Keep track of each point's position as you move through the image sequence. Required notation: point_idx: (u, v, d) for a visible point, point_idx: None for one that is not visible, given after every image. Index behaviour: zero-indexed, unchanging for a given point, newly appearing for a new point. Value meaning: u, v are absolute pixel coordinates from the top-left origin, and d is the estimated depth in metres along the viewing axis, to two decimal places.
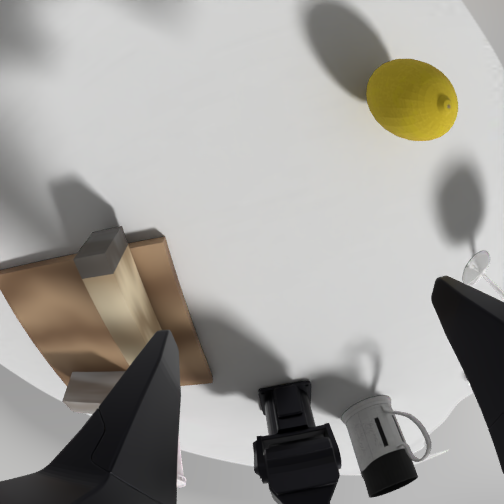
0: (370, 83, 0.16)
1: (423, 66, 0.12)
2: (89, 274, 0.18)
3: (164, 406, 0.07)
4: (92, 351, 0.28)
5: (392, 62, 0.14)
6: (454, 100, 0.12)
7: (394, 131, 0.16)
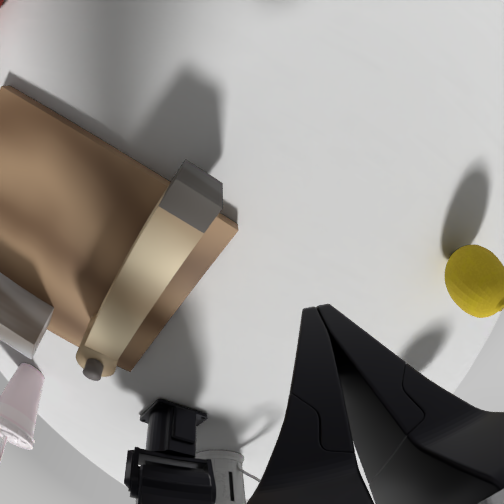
0: (468, 253, 0.20)
1: None
2: (174, 209, 0.14)
3: None
4: (34, 262, 0.19)
5: (490, 253, 0.19)
6: None
7: (457, 293, 0.20)
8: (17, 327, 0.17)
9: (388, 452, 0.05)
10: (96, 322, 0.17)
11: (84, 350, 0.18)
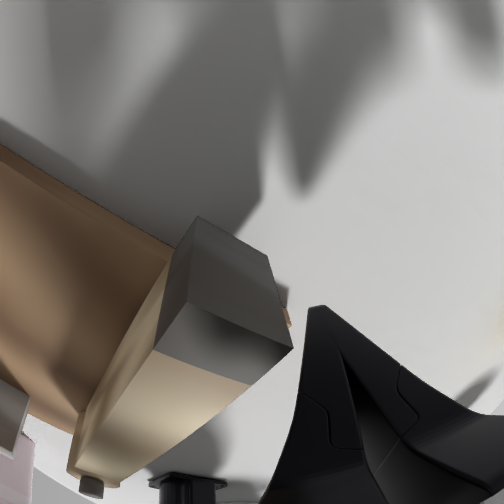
0: None
1: None
2: (189, 355, 0.06)
3: None
4: None
5: None
6: None
7: None
8: None
9: (382, 454, 0.05)
10: (84, 455, 0.09)
11: (75, 469, 0.11)
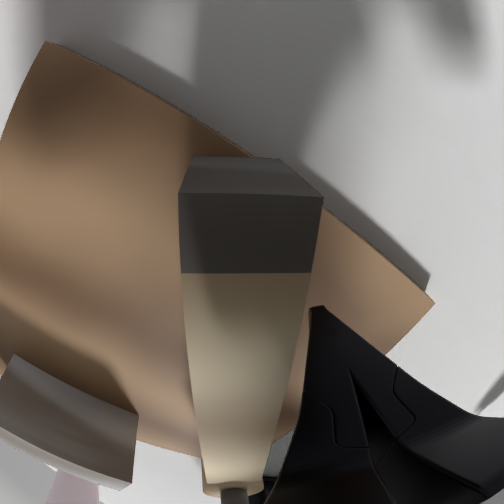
0: None
1: None
2: (219, 260, 0.06)
3: None
4: (109, 364, 0.12)
5: None
6: None
7: None
8: (97, 462, 0.10)
9: (378, 455, 0.05)
10: (205, 463, 0.10)
11: (210, 486, 0.12)
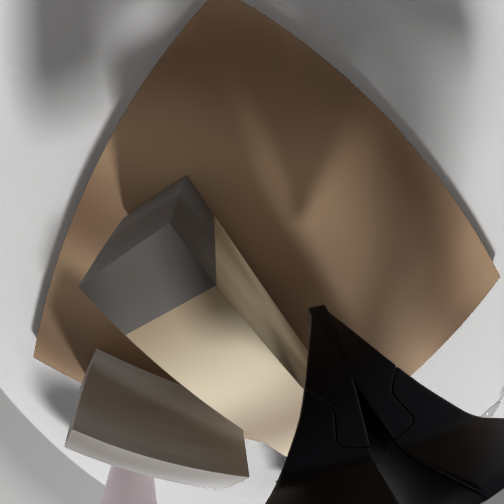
0: None
1: None
2: (139, 314, 0.06)
3: None
4: None
5: None
6: None
7: None
8: (212, 461, 0.11)
9: (377, 456, 0.05)
10: None
11: None
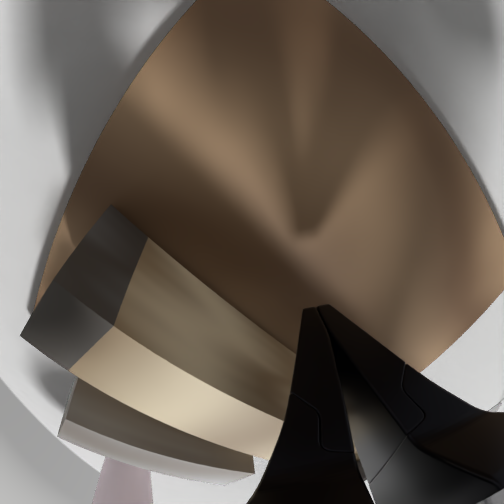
0: None
1: None
2: (69, 353, 0.06)
3: None
4: None
5: None
6: None
7: None
8: (216, 455, 0.10)
9: (388, 452, 0.05)
10: None
11: None
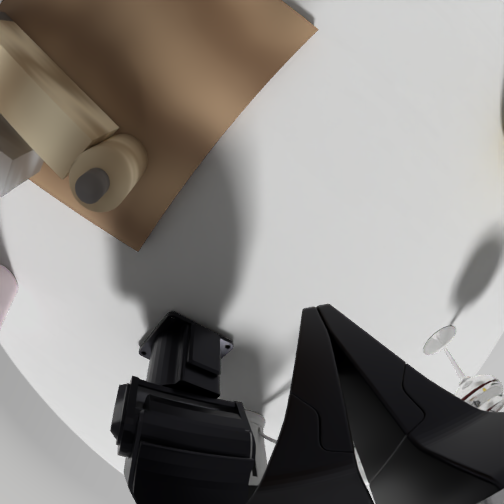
0: None
1: None
2: None
3: None
4: None
5: None
6: None
7: None
8: None
9: (388, 452, 0.05)
10: (28, 142, 0.11)
11: (72, 185, 0.12)
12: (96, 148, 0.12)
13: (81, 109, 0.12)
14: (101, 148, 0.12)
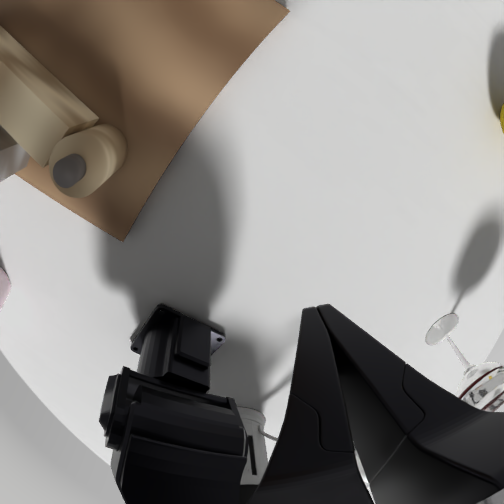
0: None
1: None
2: None
3: None
4: None
5: None
6: None
7: None
8: None
9: (388, 452, 0.05)
10: (11, 134, 0.11)
11: (52, 173, 0.12)
12: (73, 135, 0.12)
13: (61, 100, 0.12)
14: (78, 134, 0.12)
